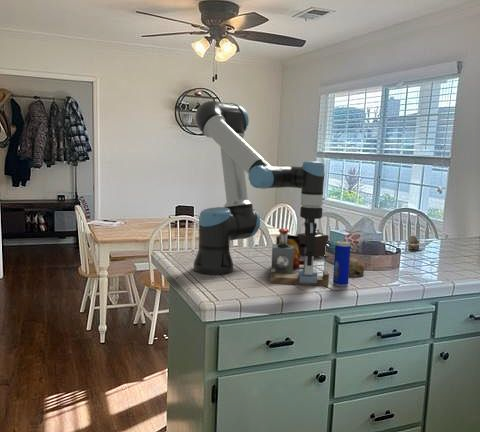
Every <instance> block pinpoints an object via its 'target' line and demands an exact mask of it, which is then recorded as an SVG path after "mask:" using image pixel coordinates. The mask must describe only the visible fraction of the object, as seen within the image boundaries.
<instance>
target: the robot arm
mask: <svg viewBox="0 0 480 432" xmlns="http://www.w3.org/2000/svg"><path fill="white" fill-rule="evenodd" d="M195 122H196V126H197V127H198V129H199V130H200V132H201V133H202V134H203V135H204V136H205V137H207V138H209V139H210V138H211V139H213V141H214V142H215V143H216V144H218V145H219V148H220V156H221V166H222V173H223V174H222V175H223V182H224V191H225V199H226V203H225V204H224V205H223V206H217V207H209V208H205V209H203V210H201V212H200V213H199V220H198V251H197V253H196V256H195V259H194V262H193V271H194V272H196V273H200V274H205V275H223V274H229V273H232V272H234V262H233V259H232V255H231V251H230V245H231V244H230V243H231V242H230V241H236V240H244V239H245V240H247V239H248V238H251V237H254V236H255V235H256V234H257V233H258V232H259V230H260V227H261V217H260V214H259V213H258V212H257V210H256V209H254V207H253V203H252V202H251V201H250V200H249V195H248V189H247V179H246V174H247V175H248V180H249V184H250V185H251V187H253V188H256V189H261V190H264V189H265V190H266V189H276V188H277V189H278V188H281V189H282V188H293V189H294V188H297V189H301V193H300V205H301V207H300V209H299V210H300V213H299V217H300V218H302V219H304V218H307V222H305V221H304V223H305V225H304V233H305V235H306V236H305V248H306V254H304V256H305V274H308V275H313V270H314V259H313V257H314V244H315V236H316V230H317V227H318V225H317V222H316V221H315V220H319V219H323V207H322V206H323V205H324V203H323V202H324V200H326V198H325V196H324V187H325V186H324V185H325V184H324V183H325V176H326V175H325V174H326V173H325V164H324V162H322V161H306V160H305V161H303V162H302V166H294V165H271V164H270V163H269V162H268V161H266V159H264V158H263V157H262V156H261V155H260V154H259V153H258V152H257V151H256V150H255V149H254V148H253V147H252V146H250V145H249V143H247V142H246V140H245V139H243V138H244V137H245V132H246V131H247V129H248V126H249V122H250V119H249V114H248V111H247V110H246V109H245V108H244V107H243V106H241V105H240V104H236V103H234V102H225V101H224V102H223V101H217V100H216V101H215V100H208V101H204V103H201V105H199V106H198V108H197V110H196V112H195ZM304 256H303V257H304Z"/></svg>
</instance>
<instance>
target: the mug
mask: <svg viewBox="0 0 480 432" xmlns="http://www.w3.org/2000/svg"><path fill="white" fill-rule="evenodd" d="M275 239H276V240H275V241H276V243H275V244H280V234H279V235H277V236H276V238H275ZM287 245H294V259H293V270H297V269H300V266H304V260H300V259H301V258H300V257H301V255H300V247H305V243H301V237H299V236H297V235H289V234H287Z"/></svg>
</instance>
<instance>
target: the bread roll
mask: <svg viewBox="0 0 480 432" xmlns="http://www.w3.org/2000/svg"><path fill="white" fill-rule="evenodd" d="M364 273H365V268H364V266H363V264H362V263H361V262H360V260H359V259H356V258H355V257H354V258H353V257H350V262H349V277H353V278H356V277H360V276H363V275H364Z"/></svg>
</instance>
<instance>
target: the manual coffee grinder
mask: <svg viewBox="0 0 480 432" xmlns="http://www.w3.org/2000/svg"><path fill="white" fill-rule="evenodd" d="M303 219H304V220H305V221H304V223H303V225H304V226H305V222H307V218H303ZM296 236H299V237H301V243H305V236H306V235H305V232H303V233H297V234H296ZM329 236H330V235H327V234H324V233H322V232H320V229H316V236H315V244H314V259H315V258H322V257H325V256H324V255H325V246H326V242H327V241H328V242H329V238H330V237H329ZM304 254H305V247H300V256H303V257H304Z"/></svg>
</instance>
